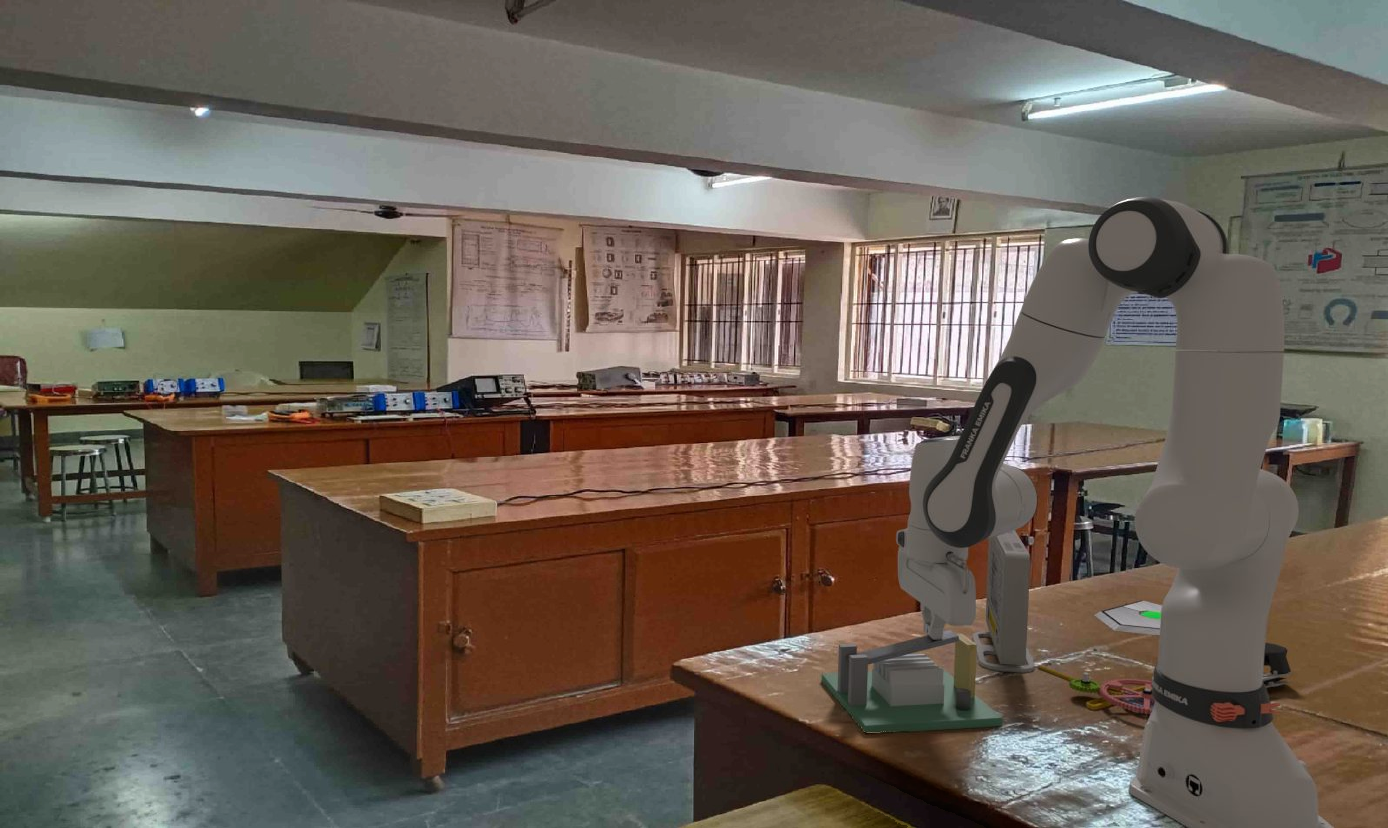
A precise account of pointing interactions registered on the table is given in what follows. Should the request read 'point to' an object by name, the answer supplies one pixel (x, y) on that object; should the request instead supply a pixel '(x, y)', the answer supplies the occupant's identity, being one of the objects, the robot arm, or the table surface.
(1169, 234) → the robot arm
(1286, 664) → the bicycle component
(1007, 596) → the network device
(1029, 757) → the table surface
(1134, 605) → the security device
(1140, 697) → the mechanical gear assembly
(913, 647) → the strap
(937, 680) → the board
